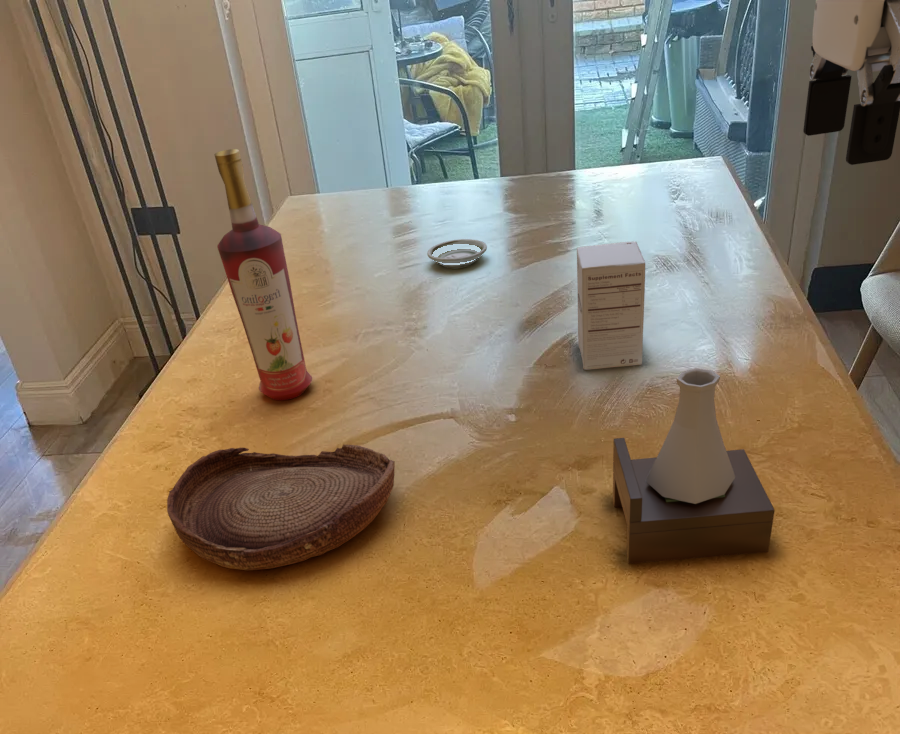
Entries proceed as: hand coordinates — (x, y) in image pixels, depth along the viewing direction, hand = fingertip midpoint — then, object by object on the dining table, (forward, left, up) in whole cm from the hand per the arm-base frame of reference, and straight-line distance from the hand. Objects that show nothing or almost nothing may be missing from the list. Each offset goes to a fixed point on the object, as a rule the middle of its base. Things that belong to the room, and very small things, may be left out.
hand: (844, 146), depth 68 cm
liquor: (+56, -24, -28) cm, 67 cm away
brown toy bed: (+13, +12, -28) cm, 33 cm away
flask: (+13, +12, -23) cm, 29 cm away
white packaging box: (+15, -25, -28) cm, 40 cm away
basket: (+51, +5, -28) cm, 58 cm away
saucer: (+34, -65, -28) cm, 79 cm away
